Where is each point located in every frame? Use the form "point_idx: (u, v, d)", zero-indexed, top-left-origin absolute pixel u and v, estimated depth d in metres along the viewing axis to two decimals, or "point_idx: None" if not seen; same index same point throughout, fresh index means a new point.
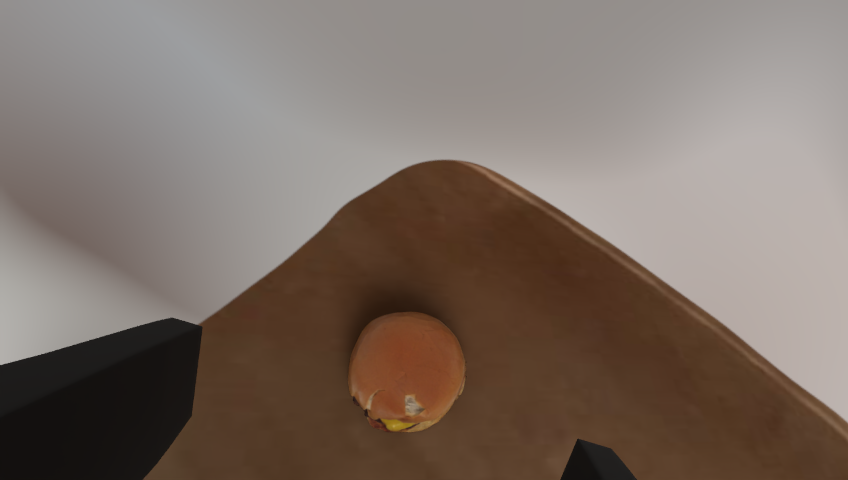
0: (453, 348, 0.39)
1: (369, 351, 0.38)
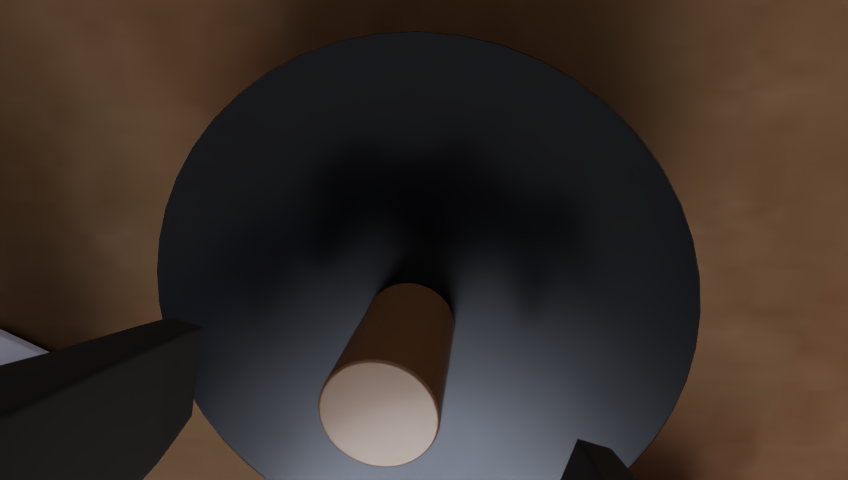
0: None
1: None
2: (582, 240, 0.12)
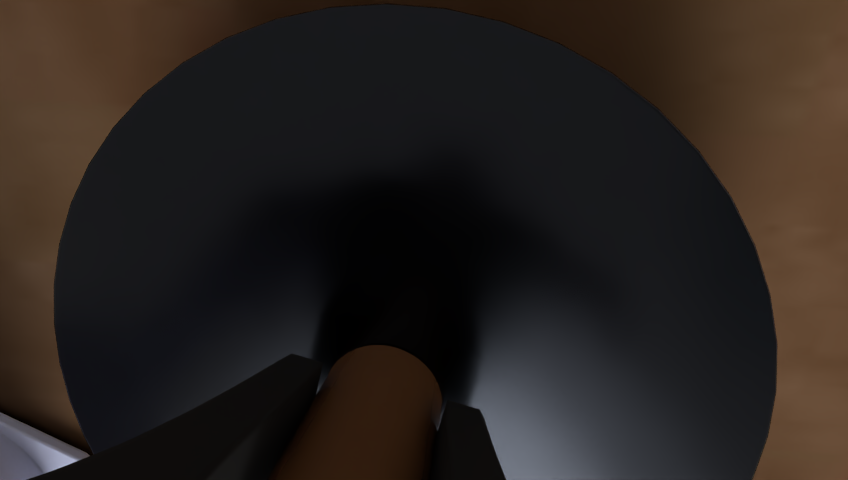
0: None
1: None
2: (615, 292, 0.09)
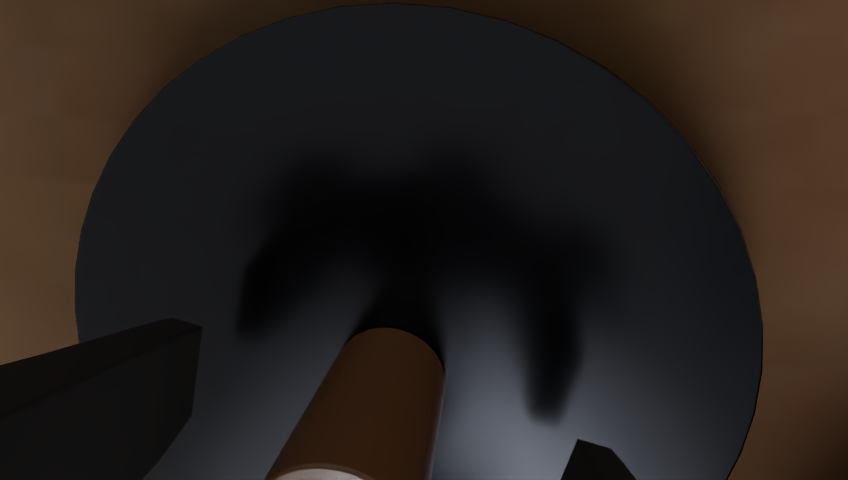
0: None
1: None
2: (610, 276, 0.09)
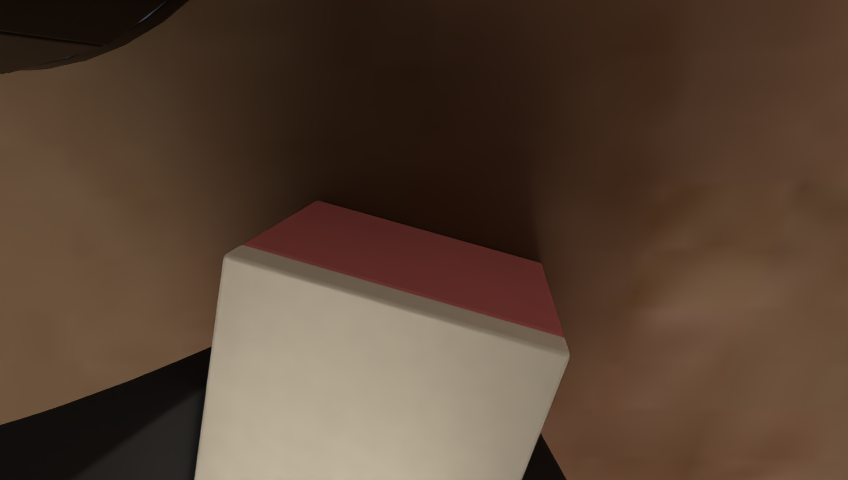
0: None
1: None
2: None
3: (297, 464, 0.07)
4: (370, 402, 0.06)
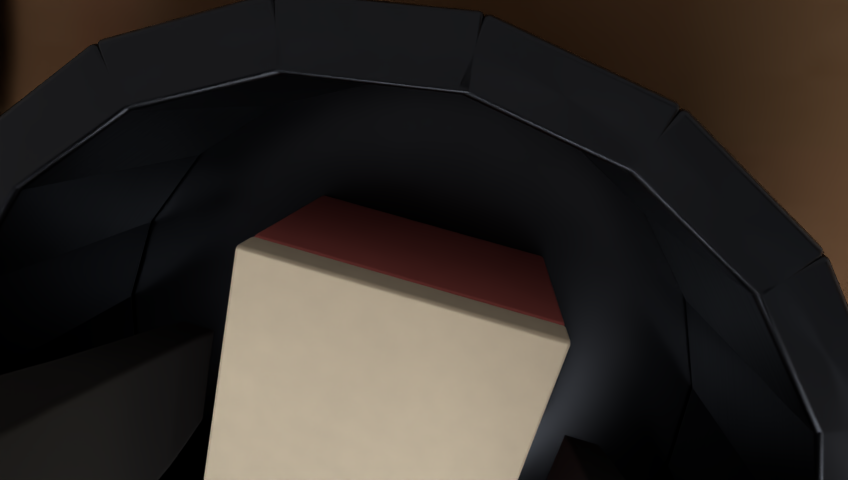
0: None
1: None
2: None
3: (306, 449, 0.07)
4: (377, 388, 0.07)
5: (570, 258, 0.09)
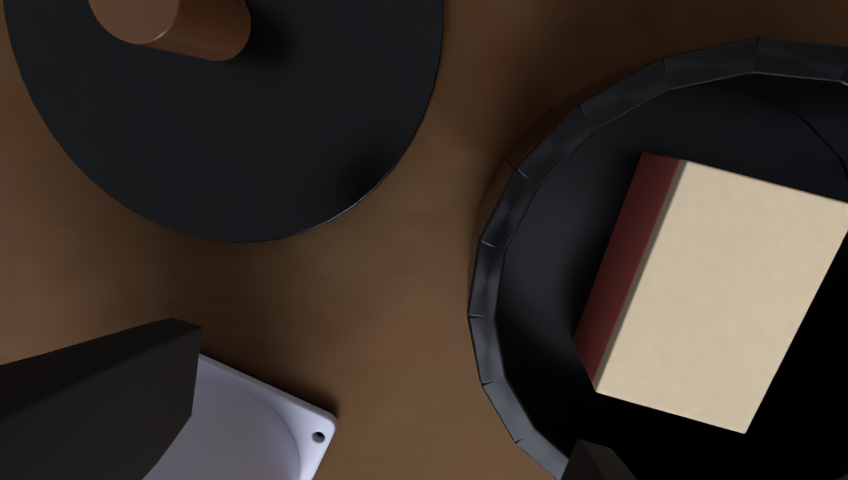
0: None
1: None
2: None
3: (701, 275, 0.13)
4: (750, 237, 0.13)
5: (794, 188, 0.16)
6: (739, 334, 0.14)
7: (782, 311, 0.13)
